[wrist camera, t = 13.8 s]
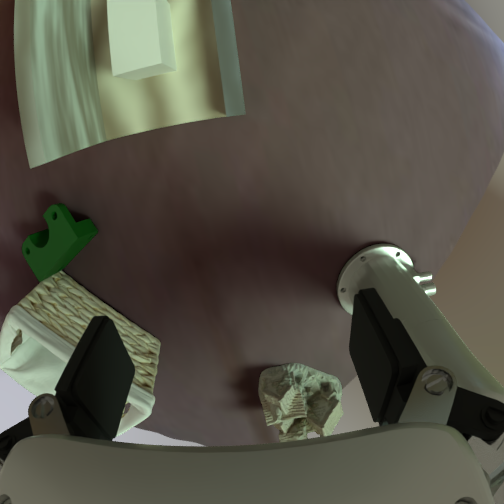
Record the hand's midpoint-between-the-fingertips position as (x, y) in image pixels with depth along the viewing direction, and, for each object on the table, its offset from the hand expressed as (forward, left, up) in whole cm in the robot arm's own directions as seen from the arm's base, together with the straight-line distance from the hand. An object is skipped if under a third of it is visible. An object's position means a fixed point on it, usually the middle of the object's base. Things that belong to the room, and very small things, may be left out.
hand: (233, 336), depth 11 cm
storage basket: (+29, +22, -29) cm, 46 cm away
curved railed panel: (+8, -18, -28) cm, 34 cm away
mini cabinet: (+8, -18, -27) cm, 34 cm away
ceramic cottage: (-6, +41, -29) cm, 50 cm away
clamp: (+26, +4, -29) cm, 39 cm away
